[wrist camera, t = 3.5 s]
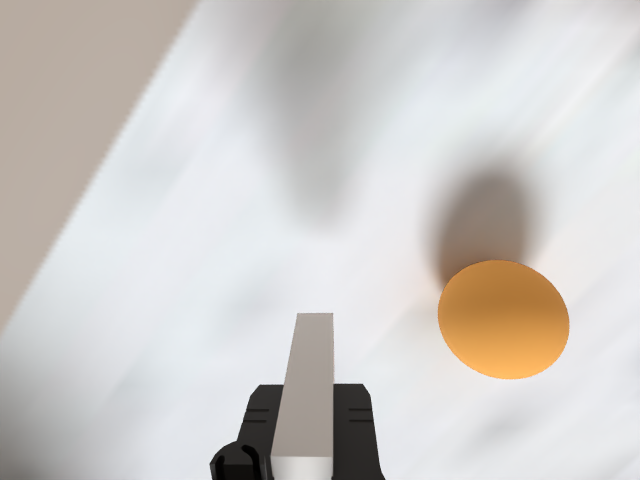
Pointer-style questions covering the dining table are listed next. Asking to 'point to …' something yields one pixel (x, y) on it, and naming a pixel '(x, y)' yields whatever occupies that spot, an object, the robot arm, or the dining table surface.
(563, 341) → the ball
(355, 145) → the dining table surface
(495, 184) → the dining table surface
